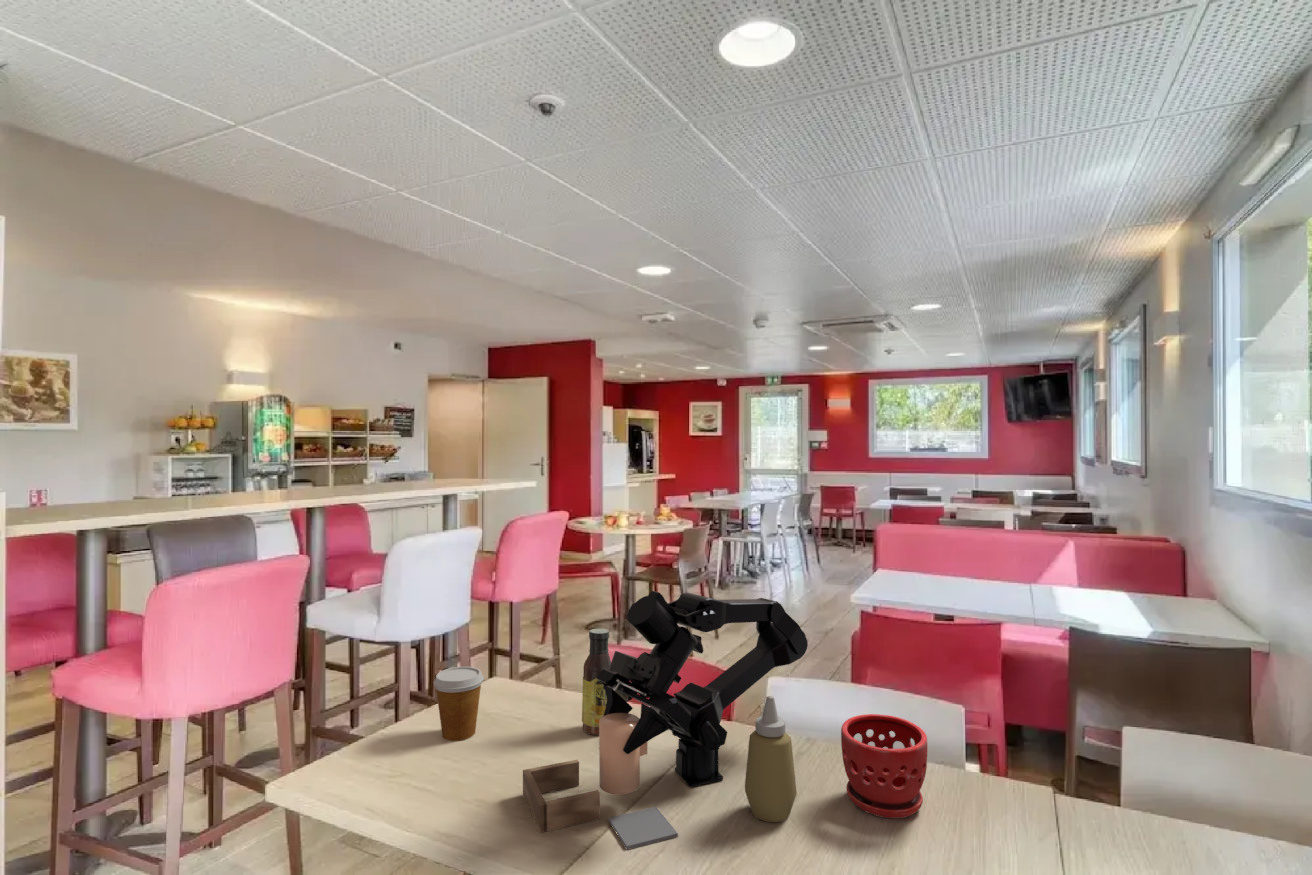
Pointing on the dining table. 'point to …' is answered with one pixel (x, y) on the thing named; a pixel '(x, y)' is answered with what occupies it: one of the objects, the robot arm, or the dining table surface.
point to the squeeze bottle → (770, 767)
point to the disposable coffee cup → (458, 701)
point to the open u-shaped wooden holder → (560, 809)
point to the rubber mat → (642, 827)
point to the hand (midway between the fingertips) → (612, 744)
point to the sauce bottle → (595, 681)
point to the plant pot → (884, 765)
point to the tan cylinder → (618, 754)
